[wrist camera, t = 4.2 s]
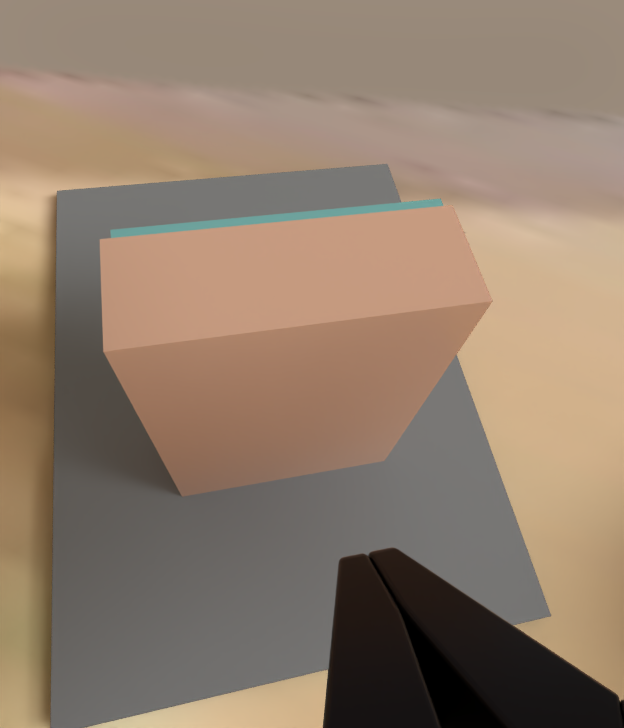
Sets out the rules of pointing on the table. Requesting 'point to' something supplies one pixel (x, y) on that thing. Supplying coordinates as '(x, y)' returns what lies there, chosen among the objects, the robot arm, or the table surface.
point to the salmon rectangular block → (286, 335)
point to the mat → (237, 497)
